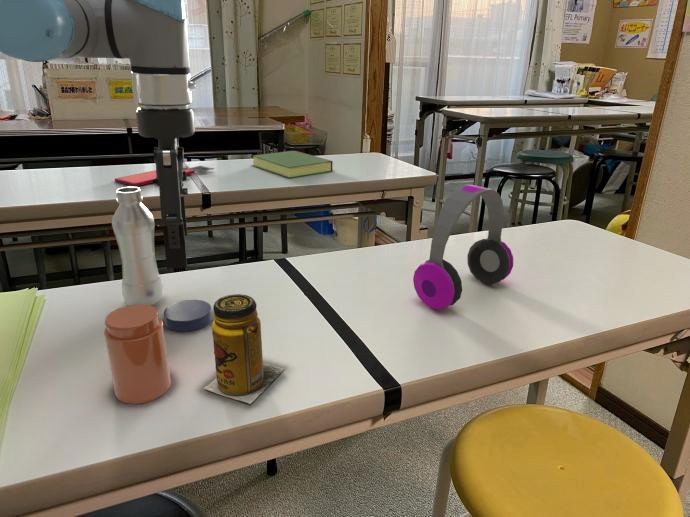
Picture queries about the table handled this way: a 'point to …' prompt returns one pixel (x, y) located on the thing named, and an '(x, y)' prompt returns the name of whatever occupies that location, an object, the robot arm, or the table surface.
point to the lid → (187, 315)
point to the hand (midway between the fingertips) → (178, 250)
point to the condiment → (239, 350)
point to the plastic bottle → (136, 248)
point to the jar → (137, 353)
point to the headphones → (483, 257)
